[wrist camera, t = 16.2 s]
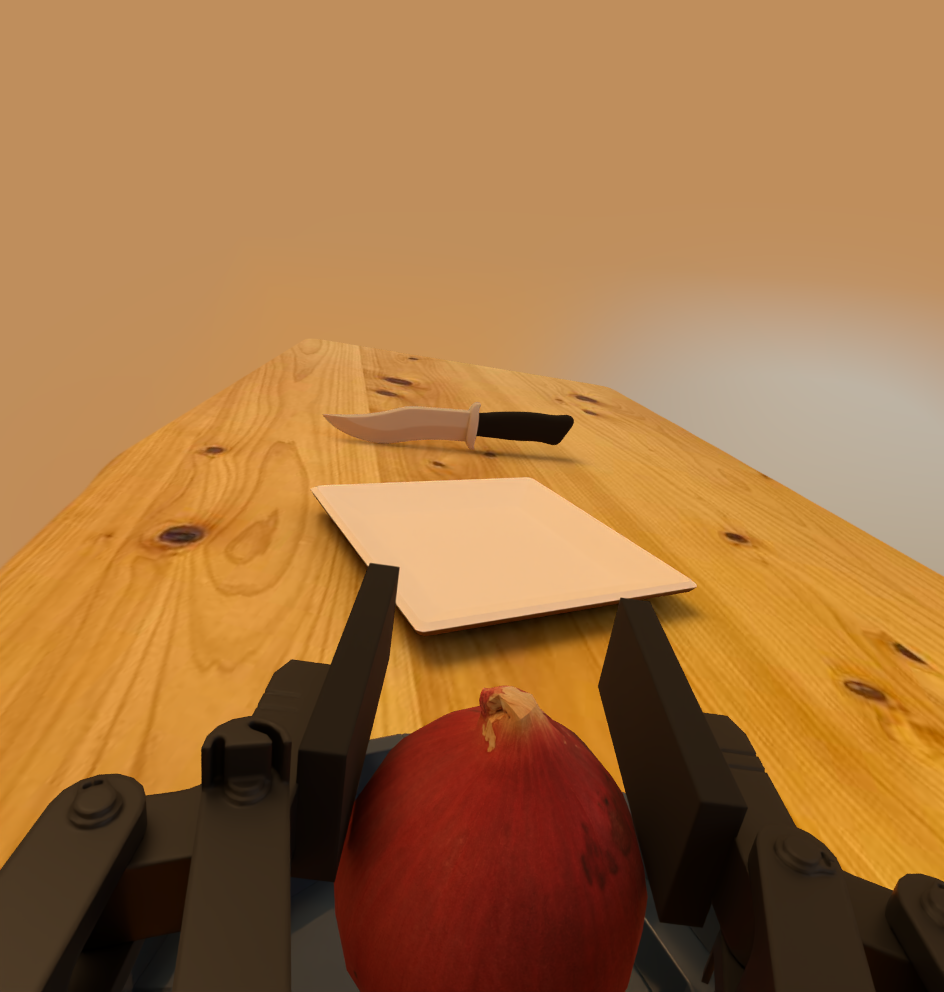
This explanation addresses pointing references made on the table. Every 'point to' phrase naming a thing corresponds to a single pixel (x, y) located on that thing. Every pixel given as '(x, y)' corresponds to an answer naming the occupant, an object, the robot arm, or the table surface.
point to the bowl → (329, 988)
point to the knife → (452, 425)
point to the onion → (491, 861)
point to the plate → (491, 551)
